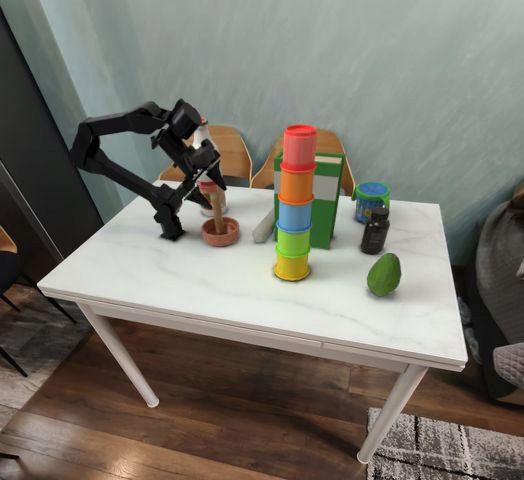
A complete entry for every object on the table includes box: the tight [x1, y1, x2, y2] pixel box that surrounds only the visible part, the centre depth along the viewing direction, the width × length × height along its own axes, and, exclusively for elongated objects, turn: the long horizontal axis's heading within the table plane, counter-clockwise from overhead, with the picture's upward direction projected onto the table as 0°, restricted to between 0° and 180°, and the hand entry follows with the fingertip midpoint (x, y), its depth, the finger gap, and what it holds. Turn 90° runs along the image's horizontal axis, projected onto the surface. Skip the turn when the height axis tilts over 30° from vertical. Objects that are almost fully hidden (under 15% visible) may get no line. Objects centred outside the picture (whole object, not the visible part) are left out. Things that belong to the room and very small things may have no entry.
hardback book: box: [273, 148, 346, 250], centre depth 90 cm, size 18×7×24 cm, turn 70°
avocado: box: [366, 252, 402, 297], centre depth 77 cm, size 8×8×12 cm
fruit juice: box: [191, 117, 228, 217], centre depth 103 cm, size 9×9×28 cm
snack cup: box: [351, 181, 391, 224], centre depth 102 cm, size 16×10×10 cm
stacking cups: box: [273, 124, 318, 282], centre depth 75 cm, size 10×10×35 cm
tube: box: [252, 207, 275, 243], centre depth 103 cm, size 5×5×25 cm
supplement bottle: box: [360, 206, 391, 255], centre depth 90 cm, size 7×7×12 cm
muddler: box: [210, 192, 228, 235], centre depth 96 cm, size 4×4×14 cm
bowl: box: [200, 216, 241, 247], centre depth 100 cm, size 12×12×4 cm
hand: (219, 199), depth 91 cm, fingers open, 9 cm apart
